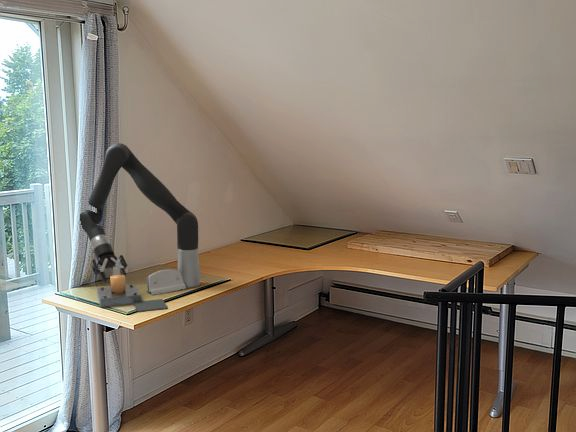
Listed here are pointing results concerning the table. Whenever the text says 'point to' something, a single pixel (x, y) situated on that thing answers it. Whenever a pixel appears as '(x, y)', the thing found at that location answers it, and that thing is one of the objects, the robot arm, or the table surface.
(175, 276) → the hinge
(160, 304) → the mat
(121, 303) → the housing
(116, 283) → the wooden block
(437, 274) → the table surface
